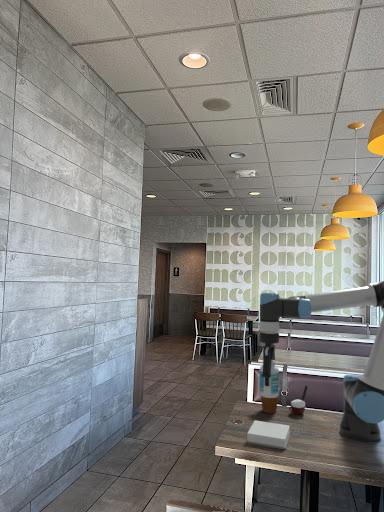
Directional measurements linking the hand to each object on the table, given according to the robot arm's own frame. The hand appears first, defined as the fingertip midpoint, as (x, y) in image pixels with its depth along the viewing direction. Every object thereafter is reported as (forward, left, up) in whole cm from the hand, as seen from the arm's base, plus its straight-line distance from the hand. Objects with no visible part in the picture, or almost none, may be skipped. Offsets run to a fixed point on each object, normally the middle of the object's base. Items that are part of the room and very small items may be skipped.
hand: (269, 391), depth 147 cm
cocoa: (-8, -33, -18) cm, 39 cm away
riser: (0, 0, -18) cm, 18 cm away
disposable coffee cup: (+5, -31, -18) cm, 36 cm away
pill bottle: (0, 0, -2) cm, 2 cm away
